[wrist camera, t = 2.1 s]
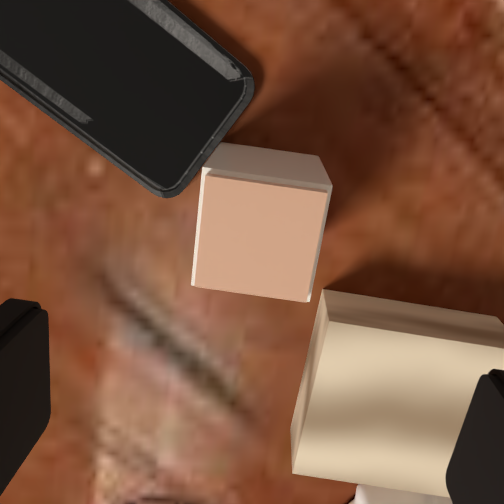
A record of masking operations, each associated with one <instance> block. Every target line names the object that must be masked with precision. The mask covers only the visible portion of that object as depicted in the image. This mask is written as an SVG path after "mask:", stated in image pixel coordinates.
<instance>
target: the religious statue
mask: <svg viewBox="0 0 504 504" xmlns="http://www.w3.org/2000/svg"><path fill="white" fill-rule="evenodd" d="M349 504H453V503H452V500H451V498H449V497H442V496H436V495H429V494H423V493H416V492H410V491H403V490H397V489H390V488H384V487H377V486H371V485H364V484H358V486H357V488H356V495H355V499H354V500H352V501H351V502H350V503H349Z"/></svg>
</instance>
